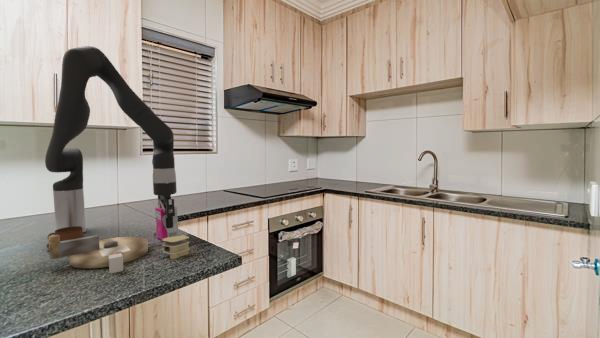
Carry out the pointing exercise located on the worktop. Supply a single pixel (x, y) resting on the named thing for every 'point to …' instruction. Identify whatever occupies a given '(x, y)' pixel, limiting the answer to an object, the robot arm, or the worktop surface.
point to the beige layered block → (176, 246)
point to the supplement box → (161, 225)
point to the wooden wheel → (96, 250)
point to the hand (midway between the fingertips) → (166, 225)
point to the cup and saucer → (68, 233)
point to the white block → (115, 263)
